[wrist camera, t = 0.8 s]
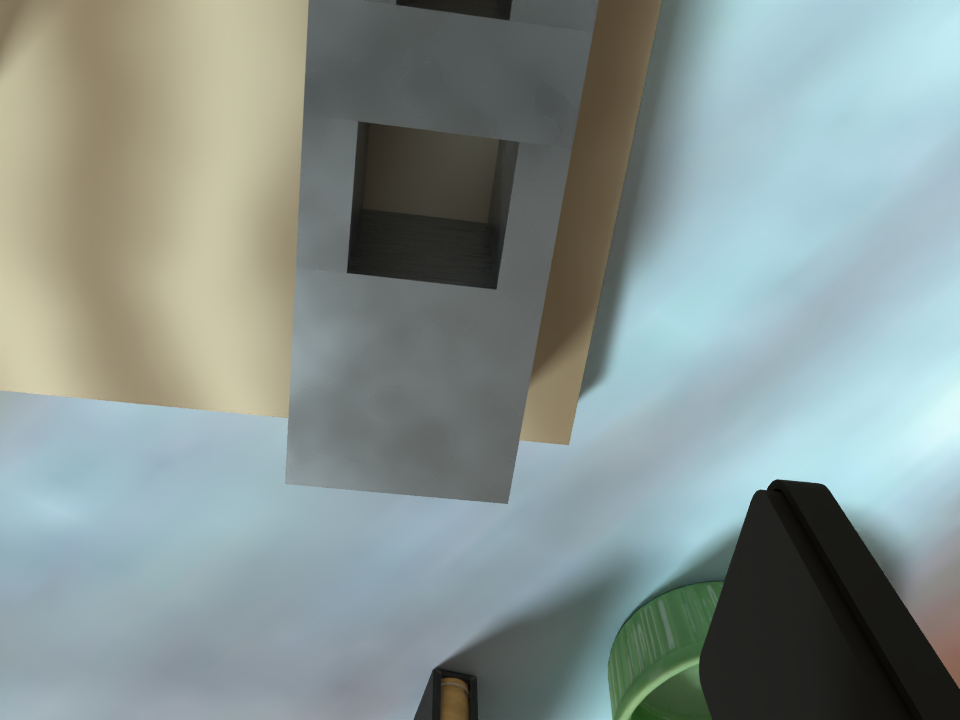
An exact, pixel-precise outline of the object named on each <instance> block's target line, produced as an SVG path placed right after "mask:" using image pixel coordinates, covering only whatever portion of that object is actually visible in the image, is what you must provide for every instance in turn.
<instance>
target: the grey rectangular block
mask: <svg viewBox="0 0 960 720" xmlns="http://www.w3.org/2000/svg"><path fill="white" fill-rule="evenodd" d="M598 3H599V0H309V4H308V25H307V45H306V66H305V87H304V107H303V128H302V149H301V170H300V190H299V211H298V232H297V252H296V273H295V294H294V314H293V335H292V356H291V376H290V397H289V418H288V438H287V459H286V480H285V484H292V485H303V486H314V487H325V488H336V489H348V490H359V491H370V492H381V493H392V494H403V495H414V496H426V497H437V498H448V499H459V500H470V501H481V502H493V503H504V504H508V500H509V494H510V489H511V483H512V478H513V472H514V467H515V461H516V456H517V450H518V445H519V439H520V433H521V428H522V422H523V417H524V411H525V406H526V400H527V395H528V389H529V384H530V378H531V373H532V367H533V362H534V356H535V351H536V345H537V340H538V334H539V329H540V323H541V318H542V312H543V307H544V301H545V295H546V290H547V284H548V279H549V273H550V268H551V262H552V257H553V251H554V246H555V240H556V235H557V229H558V224H559V218H560V213H561V207H562V202H563V196H564V191H565V185H566V180H567V174H568V169H569V163H570V157H571V152H572V146H573V141H574V135H575V130H576V124H577V119H578V113H579V108H580V102H581V97H582V91H583V86H584V80H585V75H586V69H587V64H588V58H589V53H590V47H591V42H592V36H593V31H594V25H595V19H596V14H597V8H598ZM370 123H375V124H383V125H391V126H399V127H407V128H415V129H423V130H430V131H438V132H446V133H454V134H462V135H470V136H478V137H486V138H493V139H500V140H499V147H498V154H497V161H496V168H495V175H494V182H493V189H492V195H491V202H490V209H489V216H488V223H481V222H472V221H464V220H455V219H447V218H439V217H430V216H422V215H413V214H405V213H396V212H388V211H379V210H371V209H363V201H364V189H365V177H366V164H367V152H368V139H369V127H370Z"/></svg>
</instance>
